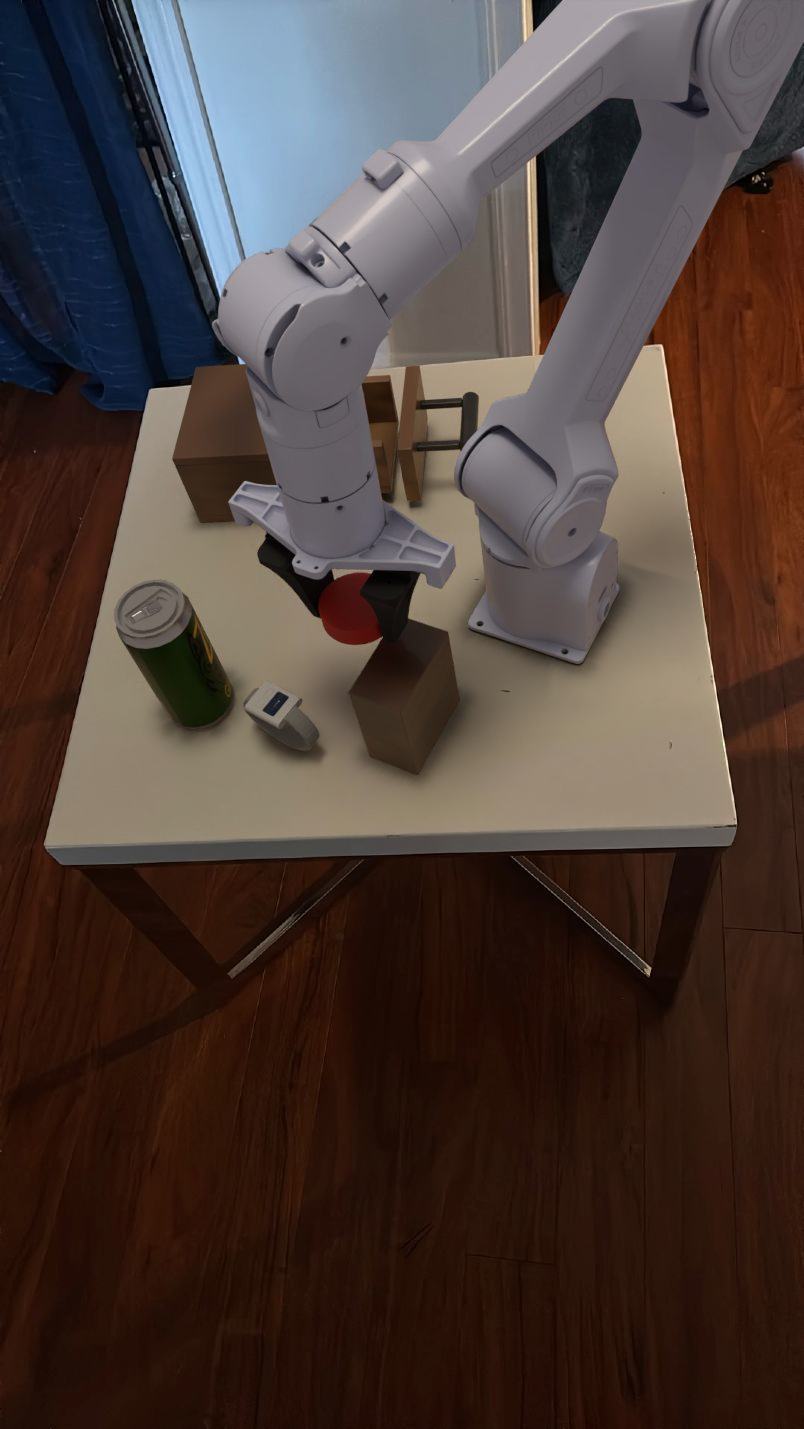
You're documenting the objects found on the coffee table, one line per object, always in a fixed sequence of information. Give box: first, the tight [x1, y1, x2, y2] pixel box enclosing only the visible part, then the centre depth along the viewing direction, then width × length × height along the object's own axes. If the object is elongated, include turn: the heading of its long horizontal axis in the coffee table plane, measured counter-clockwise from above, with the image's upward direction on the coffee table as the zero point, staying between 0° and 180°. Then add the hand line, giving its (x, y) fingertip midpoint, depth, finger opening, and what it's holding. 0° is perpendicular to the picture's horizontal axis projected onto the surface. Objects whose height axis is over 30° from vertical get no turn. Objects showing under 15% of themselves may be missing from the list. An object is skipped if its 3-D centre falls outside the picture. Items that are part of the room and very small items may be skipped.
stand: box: [348, 617, 461, 775], centre depth 73 cm, size 4×7×8 cm, turn 152°
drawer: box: [362, 365, 480, 502], centre depth 88 cm, size 17×10×6 cm, turn 86°
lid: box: [318, 571, 383, 646], centre depth 68 cm, size 5×5×2 cm
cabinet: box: [171, 363, 277, 523], centre depth 90 cm, size 13×11×8 cm
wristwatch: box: [242, 680, 321, 752], centre depth 76 cm, size 6×3×5 cm, turn 55°
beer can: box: [113, 579, 234, 730], centre depth 75 cm, size 5×5×12 cm
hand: (359, 618), depth 69 cm, fingers closed on lid, 5 cm apart
